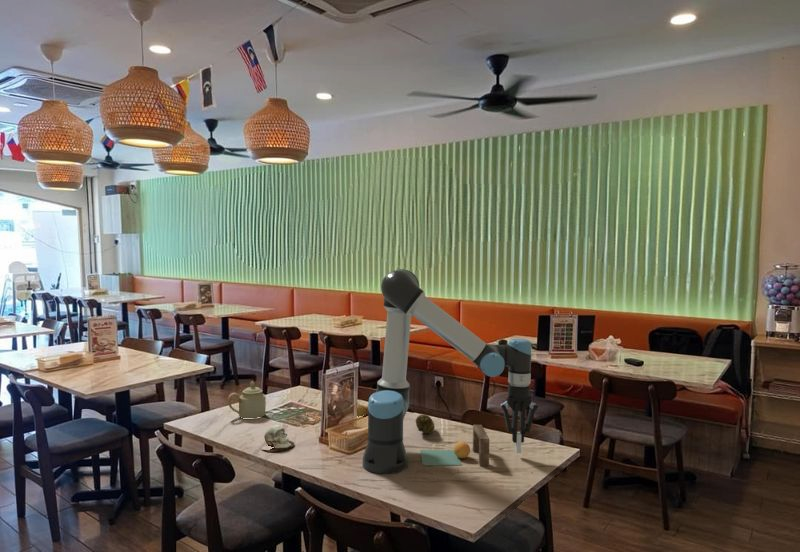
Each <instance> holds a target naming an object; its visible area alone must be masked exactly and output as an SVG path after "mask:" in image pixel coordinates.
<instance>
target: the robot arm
mask: <svg viewBox="0 0 800 552" xmlns="http://www.w3.org/2000/svg"><path fill="white" fill-rule="evenodd" d="M419 281H420V280H419V279H418V277H417V275H415V273H414V272H412V271H410V270H408V269H404V268H403V269H402V268H398V269H396V270H392V271H390V272H388V273H387V274H385V276H384V277H383V279H382V281H381V283H380V284H381V285H380V289H381V291H380V292H381V294H382V296H383V308H384V309H385V310H386V313H387V314H386V323H385V338H384V347H383V348H384V349H383V361H382V374H381V378H380V379H379V380H377V383H376V392H374V393H372V394H371V395H370V396H369V398H368V403H367V406H368V414H367V443H366V447H365V449H364V452H363V455H362V467H363V469H365V470H367V471H369V472H372V473H374V474H375V473H376V474H395V473H399V472H400V473H401V472H402V471H404V470H406V469H407V467H408V466H409V457H408V454H407V450H406V448H405V445H404V419H405V416H406V414H407V411H408V410H409V408H410V405H411V404H410V402H411V400H410V383H409V382H408V381H407V373H408V372H407V371H408V360H409V359H408V358H409V357H408V356H409V347H410V334H411V321H412V316H413V317H414V318H415V319H416V320H418V321H419V322H421V324H422V325H424V326H426V327H427V329H429V330H431V332H433V333H435V335H437V336H438V337H440V338H441V339H442V340H444V341H445V342H446V343H448V344H449V345H450V346H451V347H453V348H454V349H456V350H457V351H458V353H460V354H462V355H463V356H464V357H466V358H467V359H468V360H469V361H470V362H472V363H473V364H474V365H475V366H477V367H478V368H479V369H480V370H481V371H482V372H483V374H484V375H486V376H487V377H490V378H495V377H499V376H500V375H501V374H502V373H503V371H505V370H504V369H505V368H506V367H507V368H508V375H507V376H508V379H507V382H508V384H507V398H506V401H504V402H500V404H499V406H500V407H501V409H502V411H503V417H504V421H505V425H506V430H507V431H508V432H509V433H511V436H512V437H511V440H512V441H511V442H513V443H514V451H515V453H516V454H521V453H522V443H523V444H524V442H525V434H526V433H530V431H531V428H532V425H533V421H534V417H535V414H536V413H535V412H536V411H537V410H538V407H539V405H538V404H536V403H535V402H533V401H532V398H531V385H530V384H531V377H532V375H531V374H532V342H531V341H530V340H528V339H524V338H510V339H509V341H508V344H492V343H491V344H490V343H486V342H485V341H484V340H483V339H481V338H480V337H479V336H477V335H476V334H475V333H473V332H472V331H471V330H469V329H468V328H467V327H466V326H464V325H463V324H462V323H461V322H459V321H458V320H457V319H455V318H454V317H453V316H451V314H449V313H447V312H446V311H445V310H444V309H442V308H441V307H440V306H438V305H437V304H436V303H434V301H432V300H431V299H430V298H428V297H427V296H426V293H425V291H424V290H423V289H422V288H420V283H419ZM509 407H510V409H511V412H512V413H511V414H512V415H511V416H512V418H510V414H509V411H508V408H509ZM528 408H529V410H528V414H527V416H526V410H527V409H528ZM518 416H519V417H518ZM518 418H519V427H518ZM510 419H511V420H510ZM511 422H512V423H511ZM518 428H519V431H518Z"/></svg>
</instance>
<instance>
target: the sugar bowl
mask: <svg viewBox="0 0 800 552" xmlns="http://www.w3.org/2000/svg"><path fill="white" fill-rule="evenodd" d="M249 384H250V386H249V387H246V388H245V389H244V390H242V394H241V395H239V394H238V393H237V392H232V393H230V394H229V395H228V397H227V405H228V407H229V408H230V409H231V411H234V412H235V413H237V414H238V417H239V416H240V417H242V418H257V417H262V416H264V415H265V416H266V407H267V405H266V401H267V399H266V394H264V393H262V392H263V391H264V390H263V389H261V388H260V387H258V386H256V383H255V382H254V381H253V380H252V381H251V382H250V383H249ZM233 396H236V399H237V402H238V410H237V409H235V408H234V407H233V406H232V403H231V400H232V397H233ZM265 416H264V417H265ZM240 417H239V418H240ZM242 418H241V419H242ZM262 418H263V417H262Z"/></svg>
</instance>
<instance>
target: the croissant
mask: <svg viewBox="0 0 800 552" xmlns="http://www.w3.org/2000/svg"><path fill="white" fill-rule="evenodd" d="M356 403H357V416H358V417H359V416H363V415H365V414H367V413H368V405H362V404H360V403H358V402H356ZM367 415H368V414H367ZM365 416H366V415H365Z"/></svg>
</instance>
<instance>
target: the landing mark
mask: <svg viewBox="0 0 800 552" xmlns="http://www.w3.org/2000/svg"><path fill="white" fill-rule="evenodd" d="M419 453H420V456H421V457H420V459H421V463H422V466H463V464H462V462H461V458H459V457H457V456H456V455H455V453H454V449H420V450H419Z"/></svg>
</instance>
